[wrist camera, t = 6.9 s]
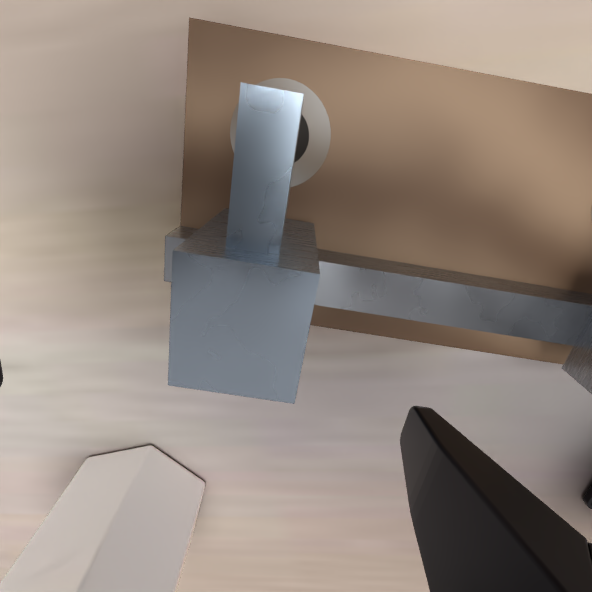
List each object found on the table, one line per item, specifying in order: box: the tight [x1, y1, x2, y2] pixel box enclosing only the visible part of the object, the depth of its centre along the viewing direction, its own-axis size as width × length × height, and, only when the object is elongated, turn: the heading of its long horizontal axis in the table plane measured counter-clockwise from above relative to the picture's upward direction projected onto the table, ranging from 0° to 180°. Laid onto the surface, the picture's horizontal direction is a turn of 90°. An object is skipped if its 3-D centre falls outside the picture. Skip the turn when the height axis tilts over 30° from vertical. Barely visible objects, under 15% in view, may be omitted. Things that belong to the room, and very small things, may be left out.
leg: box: [168, 82, 320, 404], centre depth 13 cm, size 9×4×7 cm, turn 171°
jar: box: [0, 445, 205, 592], centre depth 19 cm, size 9×8×12 cm
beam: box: [164, 226, 592, 394], centre depth 14 cm, size 9×22×7 cm, turn 81°
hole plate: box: [181, 18, 592, 364], centre depth 17 cm, size 12×25×1 cm, turn 81°
